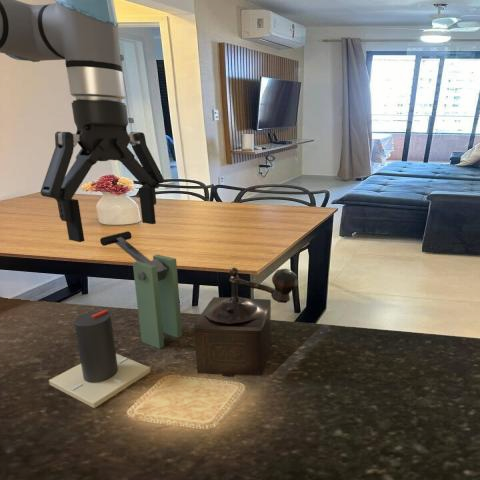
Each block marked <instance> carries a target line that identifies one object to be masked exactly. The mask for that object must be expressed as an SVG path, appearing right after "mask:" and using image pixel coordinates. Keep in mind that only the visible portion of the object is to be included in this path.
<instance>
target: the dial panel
mask: <svg viewBox="0 0 480 480" xmlns="http://www.w3.org/2000/svg"><path fill="white" fill-rule="evenodd" d="M116 359H117V367H118V371H117V373H116V374H115V375H114V376H113V377H111V378H109V379H107V380H105V381H102V382H96V383H90V382H87V381H85V380H84V378H83V372H82V366H81V363H78V364H77V365H75V366H73V367H71V368H69V369H67V370H66V371H64V372H62V373H60V374H58V375H56V376H54V377H52V378H50V379H48V384H49V386H51V387H53V388H55V389H57V390H59V391H61V392H63V393H64V394H66V395H68V396H70V397H72V398H74V399H76V400H78V401H79V402H82V403H83V404H86V405H87V406H89V407H91V408H93V409H96V408H97V407H98V406H100V405H101V404H103V403H105V402H106V401H108V400H109V399H111V398H112V397H114V396H116V395H117V394H119V393H120V392H122V391H124V390H125V389H126V388H128V387H130V386H131V385H132V384H134V383H136V382H137V381H139V380H140V379H142V378H143V377H145V376H146V375H148V374H150V373H151V371H152V370H151V367H150V366H148V365H145V364H143V363H140V362H138V361H136V360H133V359H131V358H128V357H126V356H123V355H121V354H118V353H116Z"/></svg>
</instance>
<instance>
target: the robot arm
mask: <svg viewBox="0 0 480 480" xmlns="http://www.w3.org/2000/svg"><path fill="white" fill-rule="evenodd" d="M54 1H55V3H48V4H30V3H26V2H23V1H20V0H0V54H4V55H6V56H8V57H9V58H11V59H14V60H17V61H26V62H27V61H28V62H32V63H37V62H38V63H39V62H41V61H42V62H44V61H64V60H65V67H66V74H67V79H68V87H69V93H70V96H72V97H74V98H75V99H74V100H72V102H71V108H72V115H73V122H74V125H75V126H76V133H72V132H70V131H56V132H55V133H54V144H55V147H54V150H53V153H52V156H51V159H50V162H49V165H48V168H47V170H46V174H45V176H44V180H43V183H42V186H41V189H40V195H41V196H42V197H46V198H52V199H54V200H56V204H57V209H58V215H59V219H60V220H61V221H62V222H65V224H66V230H67V236H68V240H69V241H72V242H77V243H82V242H83V243H84V242H85V236H84V235H85V234H84V228H83V222H82V216H81V209H80V203H79V199H76V198H75V199H74V196H75V194H76V193H77V191H78V190H79V188H80V186H81V185H82V183H83V182H84V180H85V179H86V177H87V175H88V173H89V172H90V170H91V169H92V167H93V166H94V165H96V164H97V163H98V162H108V161H119V162H120V163H121V164H122V165H123V166H124V167H125V168H126V169H127V170H128V171H129V173H130V174H131V175H132V176H133V177H134V178H135V179H136V180H137V181H138V182H139V184H140V185H141V186H142V187H138V194H139V203H140V212H141V223H142V224H149V225H155V224H157V222H156V221H157V219H156V211H155V210H156V209H155V206H156V204H157V197H156V196H157V195H156V189H159V188H160V185H161V184H163V183H164V182H165V178H164V176H163V174H162V173H161V171H160V168H159V166H158V165H157V162H156V161H155V159H154V156H153V155H152V153H151V151H150V149H149V147H148V145H147V141H146V135H145V133H144V132H142V131H141V132H140V131H131V132H128V129H127V128H128V125H129V117H128V109H127V104H126V103H125V102H123V100H125V99H126V89H125V82H124V81H125V80H124V73H123V68H122V59H121V51H120V48H121V47H120V37H119V36H120V35H119V23H118V19H117V14H116V8H115V3H114V0H54ZM129 144H130V145H131V148H132V151H133V152H134V153H133V152H132V151H131V149H130V148H129V147H128V146H129ZM77 145H78V146H79V147H80V150H79V151H78V153H77V154H76V156H75V161H74V162H73V164H72V166H71V167H70V169H69V166H70V163H71V160H72V157H73V154H74V149H75V147H76V146H77ZM134 154H135V155H134ZM135 156H136V157H137V159H138V160H137V159H136V157H135ZM68 169H69V170H68Z"/></svg>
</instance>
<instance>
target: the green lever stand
mask: <svg viewBox="0 0 480 480" xmlns="http://www.w3.org/2000/svg"><path fill="white" fill-rule="evenodd" d="M155 259H158V260H159V261H160V262H161V263H163V264H164V265H165V266H166V267H167V268H168V270H167V274H166V277H165V279H163V280H161V281H158V276H157V266H155V265H151V264H147V263H143V262H139V261H136V260H135V261H134V262H133V261H132V270H133V278H134V279H133V280H134V287H135V295H136V303H137V304H136V305H137V312H138V321H139V332H140V341H141V343H143V344H146V345H148V346H151V347H154V348H156V349H158V350H161V349H162V348H164V347H165V340H164V339H165V338H164V334H165V335H169V336H171V337H174V338H178V339H179V338H180V337H182V336H183V328H182V314H181V304H180V303H181V302H180V290H179V279H178V278H179V277H178V266H177V258H175V257H171V256H167V255H161V254H158V253H157V254H154V255H152V260H155Z"/></svg>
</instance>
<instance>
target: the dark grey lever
mask: <svg viewBox="0 0 480 480" xmlns="http://www.w3.org/2000/svg"><path fill="white" fill-rule="evenodd" d="M131 239H132V233H131V231H129V230H127V231H123V232H119V233H115V234H111V235H106V236H103V237H101V238H99V242H100V244H101V245H102V246H103V247H105V246H110V245H112V244H116V245H117V246H118V247H119V248H120V249H122V250H123V251H124V252H125V253H126V254H128V255H129V256H130V257H131V258H133V259H134V260H135V262H136V261H139V262H143V263H147V264H151V265H155V266H157V276H158V281H161V280H163V279H165V277H166V274H167V270H168V268H167V267H166V266H165V265H164V264H163V263H161V262H160V261H159V260H158V259H155V260H153V259H152V260H150V259H149V258H148V257H147V256H145V255H144V254H143V252H141V251H140V250H138V249H137V248H136V247H134V246H133V245H132V244H131V243H130V242H128V240H131Z"/></svg>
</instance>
